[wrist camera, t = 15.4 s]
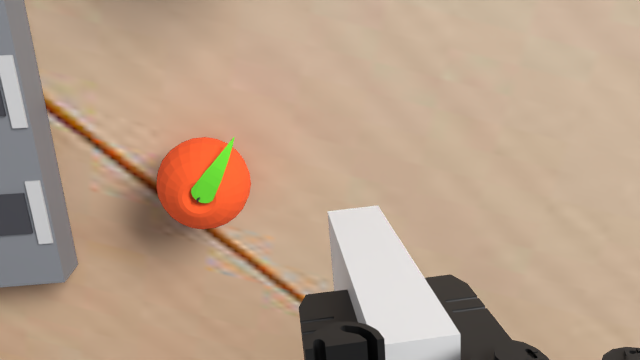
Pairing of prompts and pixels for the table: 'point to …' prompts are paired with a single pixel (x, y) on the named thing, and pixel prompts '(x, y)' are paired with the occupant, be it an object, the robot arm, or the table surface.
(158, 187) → the clementine
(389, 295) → the robot arm
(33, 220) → the switch panel
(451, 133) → the table surface
